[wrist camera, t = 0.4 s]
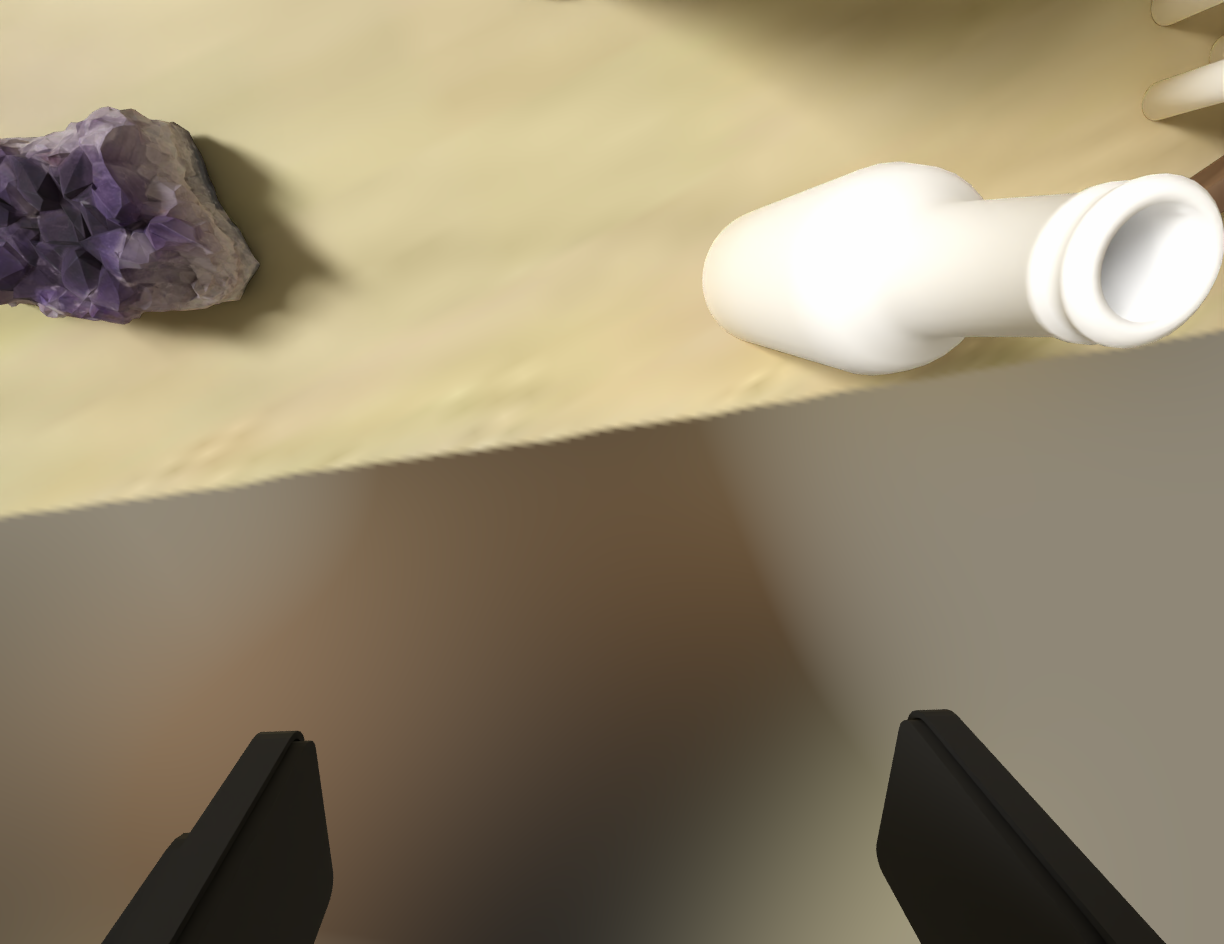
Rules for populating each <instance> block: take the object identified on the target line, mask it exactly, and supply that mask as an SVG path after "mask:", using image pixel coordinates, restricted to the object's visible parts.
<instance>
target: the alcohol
mask: <svg viewBox="0 0 1224 944" xmlns="http://www.w3.org/2000/svg"><path fill="white" fill-rule="evenodd" d="M1223 253H1224V227H1223V222H1222V216H1221V213H1220V211H1219V209H1218V206H1217V204H1216V202H1215V200H1214V199H1213V198H1212V196H1211V195H1210V194H1209V193H1208V191H1207V190H1206V189H1205V188H1203V187H1202V186H1201V185H1200V184H1198V183H1197V182H1196V181H1194V180H1191V179H1189V178H1187V177H1184V176H1182V175H1175V174H1168V173H1164V174H1154V175H1147V176H1142V177H1139V178H1136V179H1133V180H1129V181H1128V180H1125V181H1114V182H1108V183H1102V184H1099V185H1095V186H1092V187H1089V188H1086V189H1084V190H1082V191H1081V192H1079V193H1068V194H1055V195H1041V196H1028V197H1015V198H1002V199H989V200H984V199H983V198H982V197H981V196H980V194H979V193H978V192H977V191H976V190H975V189H974V188H973V187H972V185H971V184H969V183H968V182H966V181H965V180H964V179H962V178H961V177H959V176H958V175H956V174H955V173H952V172H950V171H947V170H945V169H942V168H939V167H935V166H928V165H922V164H915V163H907V162H889V163H879V164H876V165H873V166H869V167H866V168H863V169H860V170H857V171H855V172H852V173H849V174H847V175H844V176H842V177H839V178H836V179H834V180H831V181H829V182H826V183H823V184H821V185H818V186H816V187H813V188H811V189H808V190H805V191H803V192H800V193H798V194H795V195H792V196H790V197H787V198H785V199H782V200H779V201H777V202H774V203H772V204H769V205H767V206H764V207H761V208H759V209H756V210H754V211H751V212H748V213H746V214H744V215H742V216H740V217H739V218H737V219H735V220H733V221H732V222H731V223H730V224H729V225H727V226H726V227H725V228H724V229H723V230H722V231H721V233H720V234H719V235H718V236H717V237H716V239H715V240H714V242H713V244H712V246H711V248H710V249H709V251H708V254H707V257H706V260H705V263H704V269H703V277H702V280H703V293H704V297H705V301H706V304H707V306H708V309H709V311H710V313H711V315H712V316H713V318H714V319H715V320H716V322H717V323H718V324H719V325H720V326H721V327H722V328H723V329H724V330H725V331H726V332H727V333H729V334H731V335H733V336H734V337H736V338H738V339H741V340H744V341H747V342H750V343H754V344H757V345H760V346H764V347H767V348H770V349H774V350H777V351H780V352H784V353H787V354H790V355H794V356H797V357H800V358H804V359H807V360H810V361H814V362H817V363H820V364H824V365H827V366H830V367H834V368H837V369H840V370H844V371H847V372H850V373H854V374H862V375H872V376H873V375H883V374H892V373H897V372H902V371H907V370H911V369H914V368H917V367H920V366H924V365H927V364H929V363H931V362H932V361H934V360H936V359H938V358H940V357H942V356H944V355H945V354H946V353H948V352H949V351H950V350H952V349H953V348H954V347H956V346H957V345H958V344H959V343H960V342H961V341H962V340H963V339H964V338H965V337H1055V338H1056V339H1059V340H1062V341H1065V342H1068V343H1078V344H1087V345H1093V344H1099V345H1102V346H1107V347H1116V348H1133V347H1140V346H1144V345H1147V344H1150V343H1153V342H1156V341H1158V340H1160V339H1162V338H1163V337H1165V336H1167V335H1169V334H1171V333H1172V332H1173V331H1175V330H1176V329H1177V328H1179V327H1180V326H1182V325H1183V324H1184V323H1185V322H1186V321H1187V320H1188V319H1189V318H1190V317H1191V316H1192V315H1193V314H1194V313H1195V312H1196V311H1197V309H1198V308H1199V307H1200V305H1201V304H1202V303H1203V301H1204V300H1205V299H1206V297H1207V295H1208V293H1209V292H1210V290H1211V288H1212V286H1213V284H1214V282H1215V280H1216V278H1217V275H1218V272H1219V270H1220V267H1221V264H1222V258H1223Z"/></svg>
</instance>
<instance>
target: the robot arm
mask: <svg viewBox="0 0 1224 944" xmlns="http://www.w3.org/2000/svg"><path fill="white" fill-rule="evenodd" d="M876 851H877V858H878V862H879V865H880V868H881V870H882V873H883V875H884V876H885V878H886V880H887V882H888V884H889V885H890V887H891V889H892V891H893V893H894V895H895V897H896V898H897V900H898V902H899V904H900V906H901V907H902V909H903V911H904V913H905V915H906V917H907V919H908V920H909V922H910V924H911V926H912V928H913V930H914V931H915V933H916V935H917V937H918V939H919V941H920V942H921V944H1166V943H1165V942H1164V941H1163V940H1162V939H1161V938H1160V937H1159V936H1158V935H1157V934H1156V933H1155V931H1154V930H1153V929H1152V928H1151V927H1150V926H1149V925H1148V924H1147V923H1146V922H1145V920H1144V919H1143V918H1142V917H1141V916H1140V915H1139V914H1138V913H1137V912H1136V911H1135V909H1134V908H1133V907H1132V906H1131V905H1130V904H1129V903H1128V902H1127V901H1126V900H1125V899H1124V898H1123V897H1122V895H1121V894H1120V893H1119V892H1118V891H1117V890H1116V889H1115V888H1114V887H1113V885H1112V884H1111V883H1110V882H1109V881H1108V880H1107V879H1106V878H1105V877H1104V876H1103V874H1102V873H1101V872H1100V871H1099V870H1098V869H1097V868H1096V867H1095V866H1094V865H1093V864H1092V863H1091V862H1090V860H1089V859H1088V858H1087V857H1086V856H1085V855H1084V854H1083V853H1082V851H1081V850H1080V849H1079V848H1078V847H1077V846H1076V845H1075V844H1074V843H1073V842H1072V841H1071V840H1070V838H1069V837H1068V836H1067V835H1066V834H1065V833H1064V832H1063V831H1062V830H1061V829H1060V827H1059V826H1058V825H1057V824H1056V823H1055V822H1054V821H1053V820H1052V819H1051V818H1050V817H1049V815H1048V814H1047V813H1046V812H1045V811H1044V810H1043V809H1042V808H1041V807H1040V806H1039V805H1038V803H1037V802H1036V801H1035V800H1034V799H1033V798H1032V797H1031V796H1030V795H1029V794H1028V792H1027V791H1026V790H1025V789H1024V788H1023V787H1022V786H1021V785H1020V784H1019V783H1018V781H1017V780H1016V779H1015V778H1014V777H1013V776H1012V775H1011V774H1010V773H1009V772H1008V771H1007V769H1006V768H1005V767H1004V766H1003V765H1002V764H1001V763H1000V762H999V761H998V760H997V759H996V757H995V756H994V755H993V754H992V753H991V752H990V751H989V750H988V749H987V748H986V746H985V745H984V744H983V743H982V742H981V741H980V740H979V739H978V738H977V737H976V736H975V735H974V734H973V732H972V731H971V730H970V729H969V728H968V727H967V726H966V725H965V724H964V722H963V721H962V720H961V719H960V718H959V717H958V716H957V715H956V714H955V713H954V712H952V711H950V710H947V709H942V710H916V711H912V712H911V714H910V715H909V717H908V720H904V721H903V722H901V724H900V727H899V731H898V737H897V742H896V747H895V753H894V757H893V762H892V767H891V773H890V778H889V783H888V789H887V793H886V799H885V803H884V809H883V814H882V819H881V824H880V829H879V835H878V840H877V848H876ZM332 886H333V869H332V862H331V854H330V847H329V840H328V833H327V825H326V819H325V811H324V804H323V797H322V789H321V783H320V775H319V769H318V761H317V754H316V747H315V744H314V742H313V741H304V737H303V734H302V733H301V732H299V731H280V732H260V733H258V734H257V735H256V736H255V737H254V738H253V739H252V741H251V742H250V744H249V746H248V747H247V748H246V750H245V751H244V753H243V754H242V756H241V757H240V759H239V761H238V762H237V763H236V765H235V766H234V768H233V769H232V771H231V772H230V774H229V775H228V777H227V778H226V780H225V781H224V783H223V784H222V786H221V787H220V789H219V790H218V792H217V793H216V795H215V796H214V798H213V799H212V801H211V802H210V804H209V805H208V807H207V808H206V810H205V811H204V813H203V814H202V816H201V817H200V819H199V820H198V822H197V823H196V825H195V826H194V828H193V829H192V830H191V832H190V833H183V834H182V835H181V836H179V837H178V838H176V839H175V840H174V841H173V842H172V844H171V845H170V846H169V847H168V849H166V851H165V852H164V854H163V855H162V857H161V858H160V860H159V861H158V862H157V864H156V865H155V867H154V868H153V870H152V871H151V873H150V874H149V875H148V877H147V878H146V880H145V881H144V883H143V884H142V886H141V887H140V888H139V890H138V891H137V893H136V894H135V896H134V897H133V899H132V900H131V902H130V903H129V904H128V906H127V907H126V909H125V910H124V912H123V913H122V915H121V916H120V918H119V919H118V920H117V922H116V923H115V925H114V926H113V928H112V929H111V930H110V932H109V933H108V935H107V936H106V938H105V939H104V941H103V942H102V943H101V944H314V941H315V939H316V936H317V933H318V931H319V928H320V925H321V923H322V919H323V917H324V914H325V911H326V909H327V907H328V904H329V900H330V897H331V892H332Z"/></svg>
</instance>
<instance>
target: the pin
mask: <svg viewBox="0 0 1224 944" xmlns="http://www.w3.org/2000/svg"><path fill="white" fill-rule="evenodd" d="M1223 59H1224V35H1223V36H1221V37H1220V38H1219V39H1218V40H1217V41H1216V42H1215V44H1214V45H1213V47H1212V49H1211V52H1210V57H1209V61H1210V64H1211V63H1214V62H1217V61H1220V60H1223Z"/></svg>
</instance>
